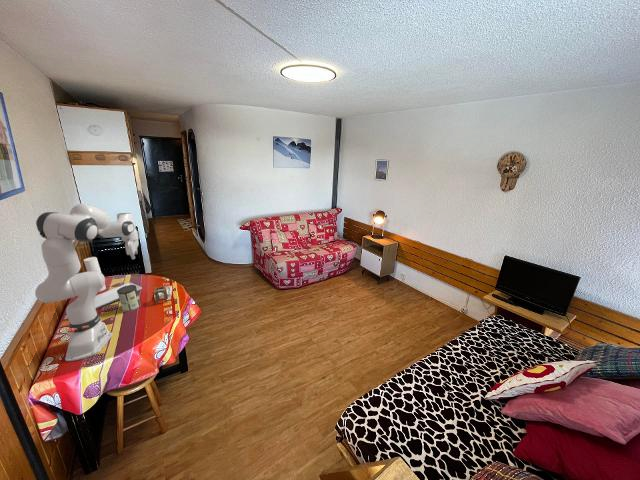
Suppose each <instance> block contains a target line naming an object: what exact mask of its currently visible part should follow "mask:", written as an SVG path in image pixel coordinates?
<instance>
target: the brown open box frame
mask: <svg viewBox="0 0 640 480" xmlns="http://www.w3.org/2000/svg"><path fill="white" fill-rule="evenodd" d="M166 287H167V286H166V285H165V286H158V287H155V288H154V292H153V294H154V295H155V298H156V300H155V301H156V305H159V304H160V300H161V299H160V298H159V294H158V293H163V294H164V298H163V299H164V301H165V303H168V299H169V297H168V295H167V291H166ZM161 289H163V290H161ZM158 290H159V291H158ZM155 298H154V299H155Z"/></svg>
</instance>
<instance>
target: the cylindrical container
mask: <svg viewBox="0 0 640 480" xmlns="http://www.w3.org/2000/svg"><path fill="white" fill-rule="evenodd" d="M83 262H84V265H85V269H86V272H90V271H99V272H100V273H102V271H101V267H100V264H99V261H98V258H97V257H96V256H91V257H90V256H89V257H87V258H83ZM106 288H107V287H106V283H105V284H104V286H103V287H102V288H101V289H100V290H99V291H98V293H99V292H103V291H104V290H106Z"/></svg>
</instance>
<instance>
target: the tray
mask: <svg viewBox="0 0 640 480" xmlns="http://www.w3.org/2000/svg"><path fill="white" fill-rule="evenodd" d="M128 285H135V286H136V288H137V292H139V291H140V290H142V289H143V288H142V287H141V286H140V285H137V284H135V283H133V282H127V283H125V284H123V285H120V286H117V287H115V288H111V289H109V290H107V291H105V292H102V293H99V294H96V296H95V300H94V304H95V308H96V310H98V309H101V308H103V307H105V306H107V305H110V304H112V303H114V301H115V302H117V301H120V299H119V296H118V293H117V290H118V289H120V288H121V287H124V286H128Z"/></svg>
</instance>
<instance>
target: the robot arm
mask: <svg viewBox="0 0 640 480" xmlns="http://www.w3.org/2000/svg"><path fill="white" fill-rule="evenodd" d="M110 219H111V218H110V215H109V214H108V213H107V212H106V211H105V210H103V209H101V208H99V207H96V206H93V205H90V204H86V203H80V204H77V205H75V206H73V207H72V208H71V209H70V214H66V213H60V212H55V211H46V212H43V213H40V215H39V216H38V217H37V218H36V221H35V224H36V225H35V226H36V229H37V231H38V232H39V236H41V237H42V238H44V239H45V240H43V242H42V243H41V253H42V258H43V261H44V264H45V266H46V268H47V272H48V275H47V277H46V278H45V280H43V281H42V282H41V283H40V284H37V285H38V286H37V287H36V288H35V291H34V292H35V293H34V294H35V298H36V299H37V300H38V301H40V302H41V303H43V304H48V303H55V302H57V303H58V302H61V301H65V300H68V299H72V298H76V297H77V298H76V299H75V300H74V301H72V302H71V303H69V304H68V305H67V306H66V308H65V314H66V316H67V318H68V321H69V322H68V327H69V328H68V330H67V332H68V333H69V338H68V345H67V350H66V354H65V358H64V360H65V362H74V361H75V362H76V361H78V360H79V361H81V360H83V359H87V358H90V357H92V355H93V356H96V355H97V354H99V353H101V351H102V350H103V349H102V348H104V347H105V346H106V345H105V344H107V343H108V342H109V340H110V339H111V338H112V336H113V335H114V334H113V332H110V331H109V330H108V327H107V325H106V324H105V322H104V321H102V320H101V318H100V314H99V312H98V311H97V309H96V308H95V304H94V300H95V296H96V295H98V293H99V292H98V291H99V290H100V289H101V288H102V287H103V286H104V284H105V285H106V278H105V275H104V274H103V273H102V272H101V273H100V272H99V271H90V272H87V271H84V272H80V271H81V268H82V265H81V261H80V259H79V256H78V252H77V250H76V248H75V247H74V244H73V243H74V242H73V241H78V242H83V243H85V242H86V243H87V242H91V241H93V240H94V239H96V237H98V238H100V239H107V238H119V237H121V240H122V242H125V243H124V248H125V253H126V255H127V256H130V258H131V260H135V259H136V256H135V255H138V254H139V253H138V247H139V245H140V244H139V232H138V230H137V228H136V221H135V219H134V216H133V214H132V213H130V212H124V213H123V212H121V213H117V214H116V221H115V220H114V221H110Z"/></svg>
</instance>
